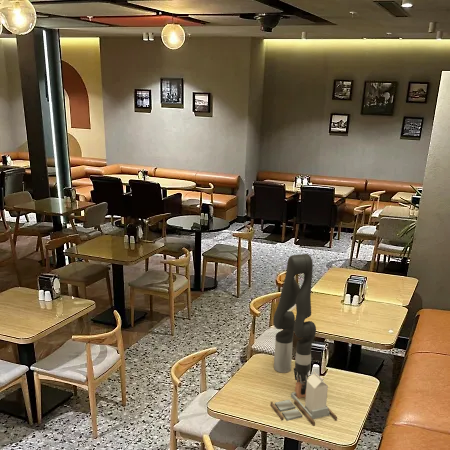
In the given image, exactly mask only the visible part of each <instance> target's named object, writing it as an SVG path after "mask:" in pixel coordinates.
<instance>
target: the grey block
mask: <svg viewBox="0 0 450 450" xmlns="http://www.w3.org/2000/svg"><path fill="white" fill-rule="evenodd" d="M303 385H304V384H303ZM294 389H295V390H294V391H293V392H291V393H290V397H291V398H292V399H293V401H294V400H296V401H297V402H298V403H299V404H300V405H301V406H302V408H303V409H304V410H305V411H306V412H307V413H308V415H309V416H310V417H311V418H312V419H313V420H315V419H320V418H324V417H327V416H331V415H330V412H329V411H328V409H330V408H329V406H327V407H323V408H319V409H314V410H311V414H310V413H309V411H308V410H307V409H306V408H305V405H304V404H303V403H302V402H301V401H300V400H299V399H302V398H306V392H305V394H304V395H301V383H300V382H297V381H296V382H295V387H294Z"/></svg>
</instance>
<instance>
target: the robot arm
mask: <svg viewBox="0 0 450 450" xmlns="http://www.w3.org/2000/svg"><path fill="white" fill-rule="evenodd" d="M313 263H314V262H313V259H312V256H311V255H310V254H309V253H303V254H301V253H300V254H293V255H290V256H289V257H288V259H287V263H286V264H287V265H286V270H285V277H284V281H283V285H282V288H281V292H280V296H279V300H278V305H277V306H276V309H275V312H274V315H273V320H272V321H273V322H272V323H273V326H274V328H275V329H277V330H280V331H278V332H276V334H275V339H274V340H275V342H274V354H273V358H274V359H273V368H274V370H275V371H276V372H278V373H281V374H283V373H284V374H286V373H289V372H291V370H292V362H293V361H292V358H293V343H294V342H293V341H294V335H295V336H296V338H298V340H297V341H296V349H295V350H296V353H295V360H294V368H293V372H294V373H293V375H294V380H295V381H296V382H300V383H301V395H304V394H305V392H306V386H307V380H308V379H309V372H311V369H312V368H311V366H312V365H311V364H312V345H313V342H314V340H315V338H316V335H317V327H316V324H315V322H313V321H312V320H308V321H305V320H306V319H308V318H309V317H311V316H312V300H311V295H312V281H313V269H314V268H313V267H314V265H313ZM302 274H303V282H302V285H301V287H300V285H299V284H298V282H297V280H296V279H295V277H296V276H297V275H302ZM294 306H295V307H296V314H294V312H293V311H291V309H292V308H293V307H294ZM303 384H304V385H303Z"/></svg>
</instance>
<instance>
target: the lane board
mask: <svg viewBox="0 0 450 450" xmlns="http://www.w3.org/2000/svg"><path fill="white" fill-rule="evenodd" d="M269 406H271V407H270V408H272V410H273V411H274V412H275V414H277V416H278V417H279V420H281V421H284V419H285V420H286V421H291V420H297V419H299V418H303V417H305V418H306V420H307V421H309V423H310V424H311V426H313V427H315V425H316V422H315V419H312V418H311V417H310V416H309V415H308V413H307V412H306V411H305V410H304V409H303V408H302V406H301V405H300V404H299V403H298V402H297V401H296V400H293V402H292V401H291V399H285V400H282V401H276V402H274V403H273V401H270V405H269ZM296 407H297V408H296ZM326 407H328V406H327V405H326ZM328 411H329V412H330V415H329V416H330V417H331V418H332V419H333V420H334V421H335V422H336V421H338V416H337V414H335V413H334V412H333V411H332V410H331V409H330V408H329V409H328Z"/></svg>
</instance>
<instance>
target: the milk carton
mask: <svg viewBox="0 0 450 450" xmlns="http://www.w3.org/2000/svg"><path fill="white" fill-rule="evenodd" d="M324 380H325V378H324V377H322V376H319V374H317V372H316V371H313V373H312V375H310V377H308V380H307V386H306V397H305V399H304V400H305V401H304V403H305V404H304V407H305V408H306V409H307V410H308V411H309V413H310V414H311V410H314V409H319V408H323V407H326V406H327V402H328V401H327V399H328V391H329V389H328V388H329V386H328V384H327V383H326V382H325V381H324Z"/></svg>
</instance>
